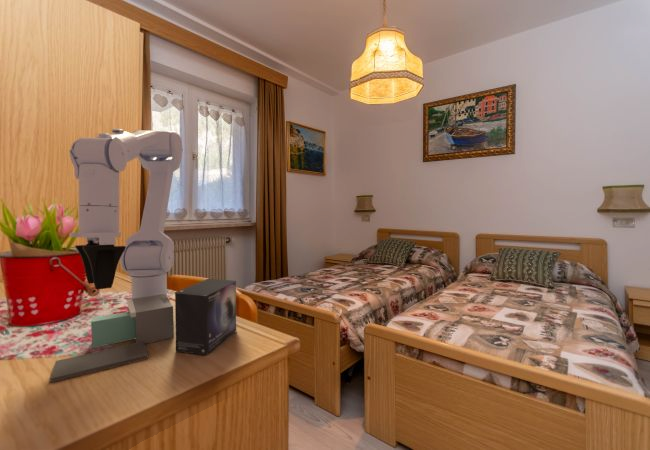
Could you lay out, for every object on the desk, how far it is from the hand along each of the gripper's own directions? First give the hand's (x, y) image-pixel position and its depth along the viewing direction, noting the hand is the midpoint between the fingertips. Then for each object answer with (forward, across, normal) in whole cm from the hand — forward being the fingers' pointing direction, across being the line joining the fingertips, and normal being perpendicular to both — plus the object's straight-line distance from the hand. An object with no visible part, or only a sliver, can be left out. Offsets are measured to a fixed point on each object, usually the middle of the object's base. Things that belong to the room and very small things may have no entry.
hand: (99, 285), depth 54 cm
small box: (+11, +10, +15) cm, 21 cm away
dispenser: (+10, -2, +9) cm, 14 cm away
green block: (+11, -2, +4) cm, 12 cm away
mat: (+12, +5, 0) cm, 13 cm away
